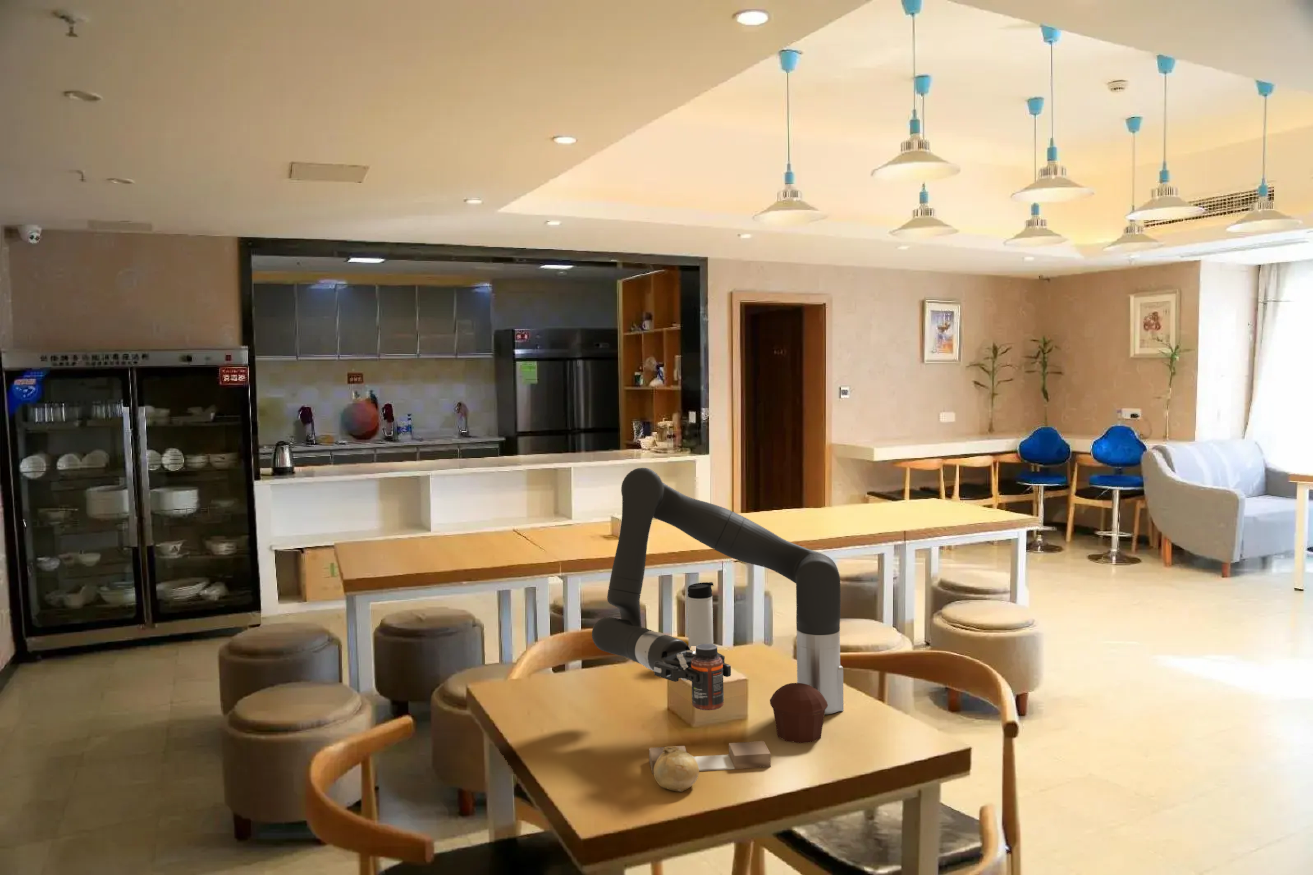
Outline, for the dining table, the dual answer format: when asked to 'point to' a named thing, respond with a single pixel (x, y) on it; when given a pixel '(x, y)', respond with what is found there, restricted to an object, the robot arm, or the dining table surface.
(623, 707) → the dining table surface
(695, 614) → the travel mug
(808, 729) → the muffin
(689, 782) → the onion
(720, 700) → the supplement bottle
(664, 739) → the dining table surface
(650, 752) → the rail
